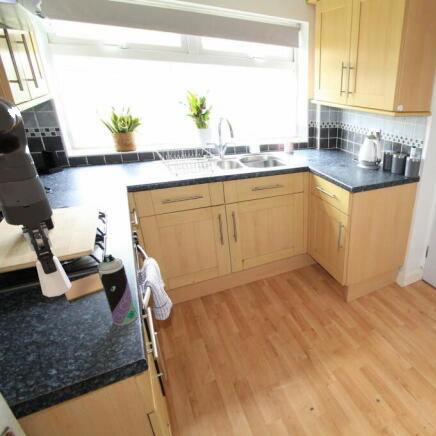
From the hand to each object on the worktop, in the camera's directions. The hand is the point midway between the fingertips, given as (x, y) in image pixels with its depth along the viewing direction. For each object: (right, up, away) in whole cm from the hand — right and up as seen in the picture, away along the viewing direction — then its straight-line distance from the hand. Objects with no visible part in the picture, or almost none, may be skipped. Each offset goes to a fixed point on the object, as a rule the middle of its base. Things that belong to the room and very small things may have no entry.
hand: (49, 268), depth 73 cm
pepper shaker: (0, -6, +3) cm, 6 cm away
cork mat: (-12, -10, +25) cm, 30 cm away
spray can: (+9, -16, +14) cm, 23 cm away
